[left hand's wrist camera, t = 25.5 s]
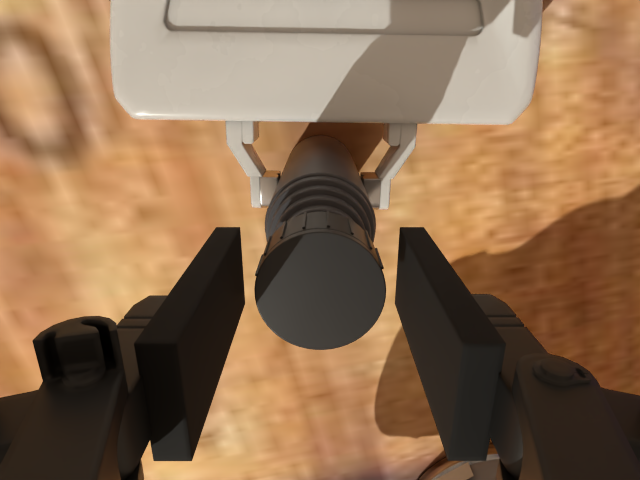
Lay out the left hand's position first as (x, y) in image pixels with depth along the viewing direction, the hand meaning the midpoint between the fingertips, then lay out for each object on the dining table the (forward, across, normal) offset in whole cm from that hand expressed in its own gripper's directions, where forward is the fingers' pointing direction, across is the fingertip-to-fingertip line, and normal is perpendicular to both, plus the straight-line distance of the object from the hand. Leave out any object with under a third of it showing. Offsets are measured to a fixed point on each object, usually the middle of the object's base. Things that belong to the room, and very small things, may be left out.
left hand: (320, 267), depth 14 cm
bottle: (+17, 0, 0) cm, 17 cm away
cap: (-2, 0, 0) cm, 2 cm away
